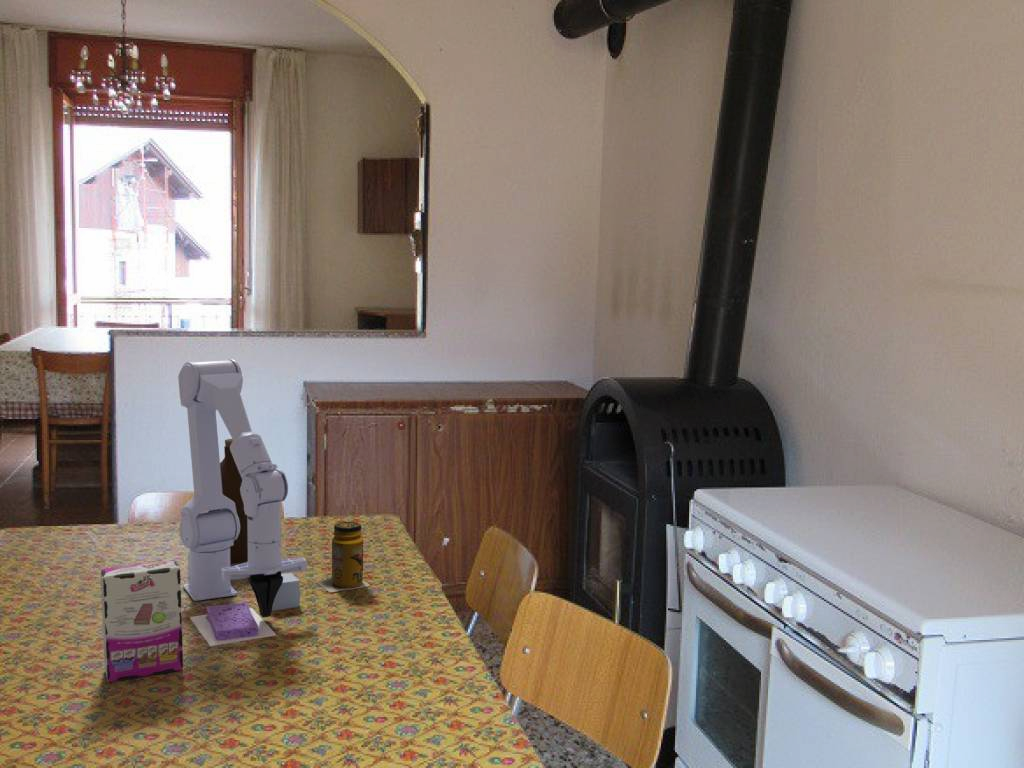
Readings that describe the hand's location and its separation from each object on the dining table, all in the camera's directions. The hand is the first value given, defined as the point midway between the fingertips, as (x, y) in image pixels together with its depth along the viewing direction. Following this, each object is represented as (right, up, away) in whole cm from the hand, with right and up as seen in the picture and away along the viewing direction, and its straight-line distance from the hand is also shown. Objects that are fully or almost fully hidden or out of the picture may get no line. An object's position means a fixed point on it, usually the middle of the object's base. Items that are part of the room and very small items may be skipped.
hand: (265, 615), depth 181 cm
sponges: (-5, -1, -3) cm, 6 cm away
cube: (+1, 0, +9) cm, 9 cm away
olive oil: (-15, +4, +37) cm, 40 cm away
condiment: (+10, +1, +21) cm, 23 cm away
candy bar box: (-13, -4, -22) cm, 26 cm away
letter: (-5, -1, -3) cm, 6 cm away
